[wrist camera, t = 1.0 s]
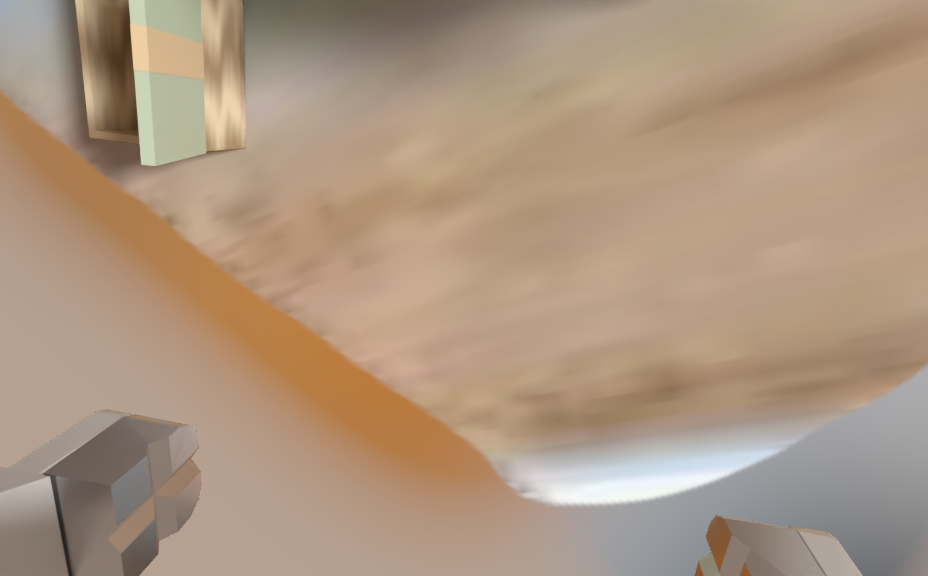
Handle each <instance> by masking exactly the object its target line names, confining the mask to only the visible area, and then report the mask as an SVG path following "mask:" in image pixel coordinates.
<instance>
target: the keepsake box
mask: <svg viewBox="0 0 928 576" xmlns="http://www.w3.org/2000/svg"><path fill="white" fill-rule="evenodd" d="M75 4H76V14H77V23H78V33H79V42H80V52H81V61H82V71H83V80H84V90H85V100H86V109H87V119H88V128H89V138H97V139H104V140H111V141H119V142H126V143H133V144H140V142H139V129H138V116H137V103H136V90H135V77H134V69H133V56H132V43H131V29H130V11H129V0H75ZM201 24H202V44H203V55H204V104H205V130H206V151H216V150H228V149H240V148H246V138H245V71H244V4H243V0H201Z"/></svg>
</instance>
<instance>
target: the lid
mask: <svg viewBox="0 0 928 576" xmlns="http://www.w3.org/2000/svg"><path fill="white" fill-rule="evenodd" d="M129 11H130V29H131V43H132V56H133V69H134V77H135V90H136V103H137V116H138V129H139V142H140V155H141V165H150V166H158V165H162V164H166V163H170V162H174V161H178V160H182V159H186V158H190V157H194V156H198V155H202V154H206V130H205V104H204V55H203V44H202V24H201V0H129Z"/></svg>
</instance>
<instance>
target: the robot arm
mask: <svg viewBox="0 0 928 576" xmlns="http://www.w3.org/2000/svg"><path fill="white" fill-rule="evenodd" d="M198 448H199V447H198V440H197V432H196V430H195V429H193V428H192V427H191V426H190V425H186V424H181V423H176V422H171V421H165V420H161V419H155V418H150V417H145V416H139V415H131V414H128V413H123V412H117V411H111V410H101V411H95V412H94V413H92V414H90V415H89V416H87V417H86V418H84V419H83V420H81V421H80V422H78V423H77V424H75V425H73V426H72V427H70V428H69V429H67V430H66V431H64V432H63V433H61V434H60V435H58V436H56V437H55V438H53V439H52V440H50V441H49V442H47V443H46V444H44V445H43V446H41V447H39V448H38V449H36V450H35V451H33V452H32V453H30V454H29V455H27V456H26V457H24V458H23V459H21V460H19V461H18V462H16V463H15V464H13V465H12V466H10V467H9V468H4V467H0V576H139V575H140V574H141V573H142V572H143V571H144V570H145V568H146V567H147V566H148V565H149V564H150V563H151V562H152V561H153V559H154V558H155V557H156V556H157V555H158V550H159V541H160V540H162V539H164V538H166V537H168V536H170V535H172V534H174V533H176V532H178V531H179V530H180V528H182V526H183V525H184V524H185V523H186V521H187V520H188V519H189V518H190V517H191V514H192V512H193V510H194V508H195V506H196V504H197V501H198V500H199V495H200V489H201V472H200V470H199V469H198V467H197V466H196V465H195V463H194V462H193V460H192V459H191V457H192V456H193V455H194V453H195V452H196V451H197V450H198ZM706 539H707V542H708V544H709V547H710V550H711V552H710V553H709V554H708V555H706V556H705V557H703V558H702V559H701V560H699V561H698V565H697V569H696V573H695V576H862V574H861V573H860V571H859V570H858V569H857V567H856V566H855V564H854V563H853V562H852V560H851V559H850V557H849V556H848V554H847V553H846V552H845V551H844V549H843V547H842V546H841V545H840V543H839V542H838V540H837V539H836V538H835V537H834V536H832V535H831V534H829V533H828V532H826V531H819V530H812V529H805V528H798V527H791V526H789V527H783V526H777V525H771V524H765V523H759V522H753V521H747V520H741V519H735V518H728V517H723V516H717V515H716V516H715V517H714V518H713V520H712V521H711V523H710V525H709V528H708V531H707V534H706Z"/></svg>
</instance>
